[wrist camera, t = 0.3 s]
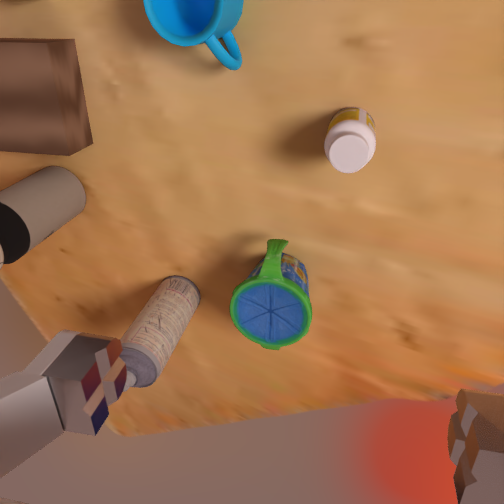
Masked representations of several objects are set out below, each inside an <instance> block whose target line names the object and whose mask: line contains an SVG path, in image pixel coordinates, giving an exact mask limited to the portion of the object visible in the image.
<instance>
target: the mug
mask: <svg viewBox="0 0 504 504" xmlns="http://www.w3.org/2000/svg"><path fill="white" fill-rule="evenodd" d="M143 2H144V7H145V12H146V14H147V16H148V19H149V21H150V23H151V25H152V26H153V28H154V29H155V30H156V31H157V32H158V33H159V35H160V36H161V37H163V38H164V39H166V40H167V41H169V42H171V43H172V44H176V45H180V46H193V45H198V44H202V43H206V44H207V46H208V47H209V49H210V50H211V51H212V53H213V54H214V55H215V57H216V58H217V59H218V60H219V61H220V62H221V63H222V64H223V65H224V66H225V67H227V68H228V69H230V70H237V69H239V68H240V66H241V64H242V57H241V53H240V50H239V47H238V45H237V43H236V41H235V38H234V36H233V34H232V33H231V30H232V29H233V28H234V27H235V26H236V25H237V23H238V21H239V18H240V16H241V14H242V8H243V2H244V1H243V0H143ZM221 37H222V38H223V40H224V42H225V44H226V46H227V49H228V51H229V53H230V54H229V53H228V52H227V51H226V50H225V49H224V48H223V46H222V45H221V44H220V42H219V41H218V40H217V39H219V38H221Z"/></svg>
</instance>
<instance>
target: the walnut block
mask: <svg viewBox="0 0 504 504" xmlns="http://www.w3.org/2000/svg"><path fill="white" fill-rule="evenodd" d="M91 144H93V140H92V134H91V129H90V123H89V118H88V112H87V107H86V101H85V95H84V90H83V84H82V79H81V73H80V67H79V62H78V56H77V51H76V45H75V40H74V39H25V38H0V151H8V152H22V153H36V154H51V155H65V156H70V155H72V154H74V153H76V152H78V151H80V150H82V149H84V148H86V147H87V146H89V145H91Z"/></svg>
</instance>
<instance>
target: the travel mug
mask: <svg viewBox="0 0 504 504" xmlns="http://www.w3.org/2000/svg"><path fill="white" fill-rule="evenodd" d="M85 203H86V195H85V191H84V188H83V186H82V184H81V182H80V181H79V180H78V178H77V177H76V176H75V175H74V174H72V173H71V172H70V171H68V170H66V169H64V168H62V167H58V166H49V167H46V168H44V169H42V170H40V171H38V172H36V173H34V174H32V175H30V176H29V177H27V178H25V179H23V180H21V181H19V182H17V183H15V184H13V185H12V186H10V187H8V188H6V189H4V190H2V191H0V269H1V268H2V266H3V264H10V263H13V262H15V261H16V260H18V259H19V258H20V257H22V256H23V255H24V254H26V253H27V252H28V251H30V250H31V249H32V248H34V247H35V246H36V245H38V244H39V243H41V242H42V241H43V240H45V239H46V238H47V237H49V236H50V235H51V234H53V233H54V232H55V231H57V230H58V229H59V228H61V227H62V226H63V225H65V224H66V223H67V222H69V221H70V220H71V219H73V218H74V217H75V216H77V215H78V214H79V213H80V212H81V211H82V210H83V209H84V207H85Z"/></svg>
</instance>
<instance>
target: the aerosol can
mask: <svg viewBox="0 0 504 504" xmlns="http://www.w3.org/2000/svg"><path fill="white" fill-rule="evenodd" d="M200 299H201V298H200V292H199V290H198V288H197V286H196V285H195V284H194V283H193V282H192V281H190V280H189V279H187V278H185V277H182V276H176V275H174V276H169V277H167V278H165V279H164V280H163V281H162V283H161V284H160V285H159V287H158V288H157V290H156V291H155V292H154V294H153V295H152V296H151V298H150V299H149V301H148V302H147V303H146V305H145V306H144V308H143V309H142V310H141V312H140V313H139V314H138V316H137V317H136V319H135V320H134V321H133V323H132V324H131V326H130V327H129V328H128V330H127V331H126V332H125V334H124V335H123V337H122V338H121V339H120V341H121V345H122V349H123V351H122V352H121V354H120V355H119V357H120V358H121V359H122V360H123V361H124V362H125V364H126V369H127V380H126V383H125V387H124V390H123V391H127V390H128V388H129V387H139V388H141V387H148V386H150V385H152V384H153V383H154V382H155V381H156V379H157V378H158V377H159V376H160V374H161V372H162V370H163V369H164V367H165V365H166V363H167V361H168V360H169V358H170V356H171V354H172V352H173V350H174V349H175V347H176V345H177V343H178V341H179V339H180V338H181V336H182V334H183V332H184V330H185V329H186V327H187V325H188V323H189V321H190V319H191V318H192V316H193V314H194V312H195V310H196V309H197V307H198V305H199V302H200Z"/></svg>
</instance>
